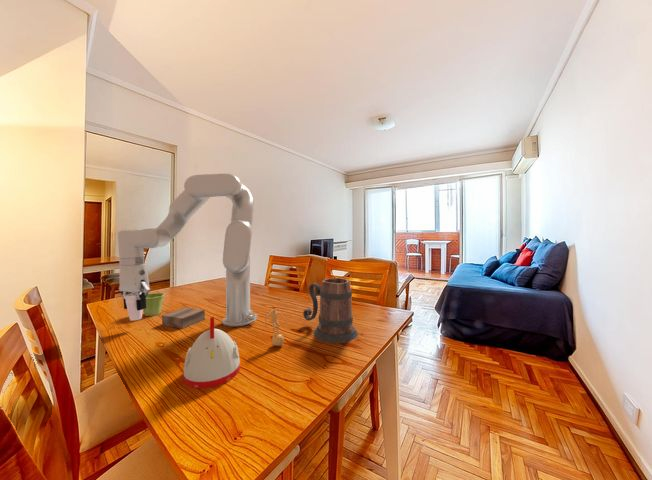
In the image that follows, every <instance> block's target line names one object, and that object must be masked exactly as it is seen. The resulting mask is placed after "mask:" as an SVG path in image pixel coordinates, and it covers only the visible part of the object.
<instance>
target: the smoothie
mask: <svg viewBox="0 0 652 480" xmlns="http://www.w3.org/2000/svg"><path fill="white" fill-rule="evenodd" d="M128 293H129V292H128ZM139 294H140V295H141V294H142V293H139ZM124 299H125V301H126V305H127V309H126V310H127V314H128V317H129V321H131V322H132V321H133V322H134V321H138V320H141V319H143V312H144V309H142V310H137V304H136V300H138V299H137V296H136V293H134V292H133V293H129V294H126V295H124Z"/></svg>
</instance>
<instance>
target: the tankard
mask: <svg viewBox="0 0 652 480" xmlns="http://www.w3.org/2000/svg"><path fill="white" fill-rule="evenodd" d="M314 287H315V288H314ZM308 292H309V296H310V298H311V302H312V309H311V308H306V309H304V310H303V313H302V315H303V317H304V319H305V320H306V321H312V320H314V319H315V318H316V317H317V314H318V311H319V314H318V325H317V326H316V328H315V329H314V330H313V332H312V333H313V337H315V338H316V339H317V340H319V341H322V342H325V343H332V344H341V343H349V342H352V341H353V340H355V339H357V337H358V336H359V332H358V330H356V328H355V326H354V325H353V322H354V316H353V314H352V313H353V312H352V311H353V307H352V297H353V296H352V295H353V292H352V289H351V283H350V280H348V279H347V278H343V277H340V278H339V277H338V278H336V277H335V278H325V279H323V280H322V282H321V284H319V283H318V282H313V283H311V284H309V286H308ZM317 296H319V300H320V301H319V302H318V298H317ZM318 303H319V304H318ZM318 305H319V307H318ZM318 308H319V310H318ZM310 316H311V317H310Z"/></svg>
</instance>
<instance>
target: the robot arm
mask: <svg viewBox="0 0 652 480" xmlns="http://www.w3.org/2000/svg"><path fill="white" fill-rule="evenodd" d="M183 187H184V189H183V191H182V192H181V193H180V194H179V195H178V196H176V198H175V199H174V200H172V202H171V203H170V204H169V208H168V214H167V216H166V217H165V219H164V220H162V222H161V223H160V224H159V225H158V226H157V227H154V228H142V229H120V230H119V231H118V232H117V245H118V261H119V274H118V275H119V278H118V279H119V281H118V282H119V286H118V290H119V292H120V294H121V297H122V299H123V309H124V310H128V309H127V305H126V301H125V299H124V295H126V294H129V293H136V296H137V299H138V300H136V304H137V310H142V309H143V310H144V309H145V308H146V298H147V295H148V294H150V292H151V288H150V280H149V274H148V273H149V272H148V268H147V266H146V264H145V249H155V248H161V247H164V246H166V245H168V244H169V243H170V242H172V240H174V238H175V237H177V236H178V234H179V233H180V232H181V231H182V230H183V228H184V227H185V226H186V224H187V223H188V222H189V220H190V219H191V218H192V216H194V214H196V213H197V211H198V210H200V208H202V206H203V205H204V204H205V203H206V202H208V200H209V199H210V198H213V197H214V198H215V197H217V198H219V197H226V198H228V199H229V200H230V201H231V203H232V208H231V218H230V223H229V224H228V225H227V227H226V228H225V229H226V230H225V234H224V242H223V252H222V265H223V266H224V268H225V270H226V271H225V298H226V299H225V302H226V303H225V306H226V309H225V314H226V316H225V317H223V319H222V320H221V321H222V322H221V323H222V325H223V326H225V327H226V326H227V327H232V328H233V327H243V326H246V325H250V324H251V323H253V322H254V321H256V320H257V319H258V314H257V313H253V310H252V309H251V255H250V253H251V244H252V236H253V222H254V221H253V220H254V198H253V195H252V193H251V192H250V190H249V189H248V188H247V187H246V186H245V185H244V184H243V183H242V181H241V180H240V179H239V178H238V177H237V176H236V175H235V174H231V173H210V174H209V173H206V174H194V175H191V176H189V177H187V178H186V179H185V182H184V185H183ZM139 293H142V294H141V295H140V294H139Z"/></svg>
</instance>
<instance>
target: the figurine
mask: <svg viewBox="0 0 652 480" xmlns="http://www.w3.org/2000/svg"><path fill="white" fill-rule="evenodd" d="M278 315H280V316H281V317H282V318H283V319H284V321H285V322H287V321H286V318H285V317H284V315H283V314H282V313H281V312H280V311H277V310H276V308H275V309H271V310H270V311H269V313H268V314H267V315H266V316H265V317H264V327H267V318H269V317H270V318H271V320H270V323H271V325H272V327H273V328H272V330H273V334H274V335H273V336H272V337H271V344H272V345H273V346H275V347H281V346H282V345H283V344H284V342H285V341H284V340H285V339H284V336H283V334H281V333H280V331H279V328H280V327H281V324H280V322H279V319H278V318H277V316H278ZM276 326H277V327H276ZM275 330H276V331H275Z"/></svg>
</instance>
